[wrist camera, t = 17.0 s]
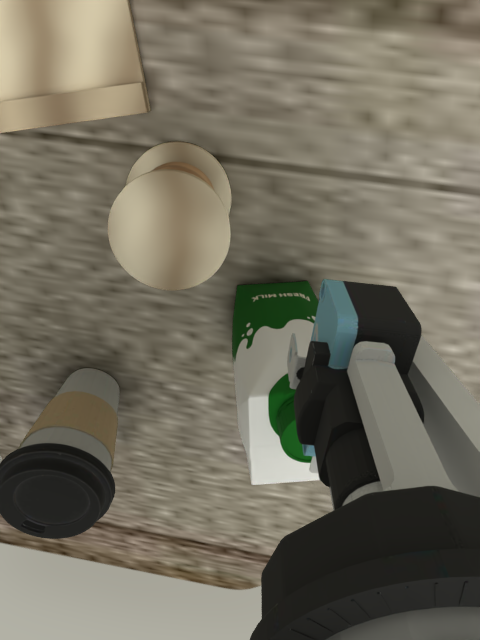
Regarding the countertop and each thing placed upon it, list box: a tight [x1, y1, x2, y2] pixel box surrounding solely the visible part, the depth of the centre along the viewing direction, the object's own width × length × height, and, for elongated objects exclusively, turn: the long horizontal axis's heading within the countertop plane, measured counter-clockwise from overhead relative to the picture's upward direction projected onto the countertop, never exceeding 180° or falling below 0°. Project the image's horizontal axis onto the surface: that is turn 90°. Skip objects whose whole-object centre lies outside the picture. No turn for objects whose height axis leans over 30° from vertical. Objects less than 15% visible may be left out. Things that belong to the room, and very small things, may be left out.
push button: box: [250, 279, 480, 640], centre depth 10 cm, size 7×5×10 cm
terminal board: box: [0, 0, 151, 133], centre depth 31 cm, size 14×14×3 cm
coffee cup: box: [0, 368, 120, 539], centre depth 42 cm, size 9×9×15 cm
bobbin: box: [108, 141, 232, 290], centre depth 34 cm, size 9×9×11 cm
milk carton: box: [232, 281, 320, 485], centre depth 37 cm, size 9×9×20 cm
